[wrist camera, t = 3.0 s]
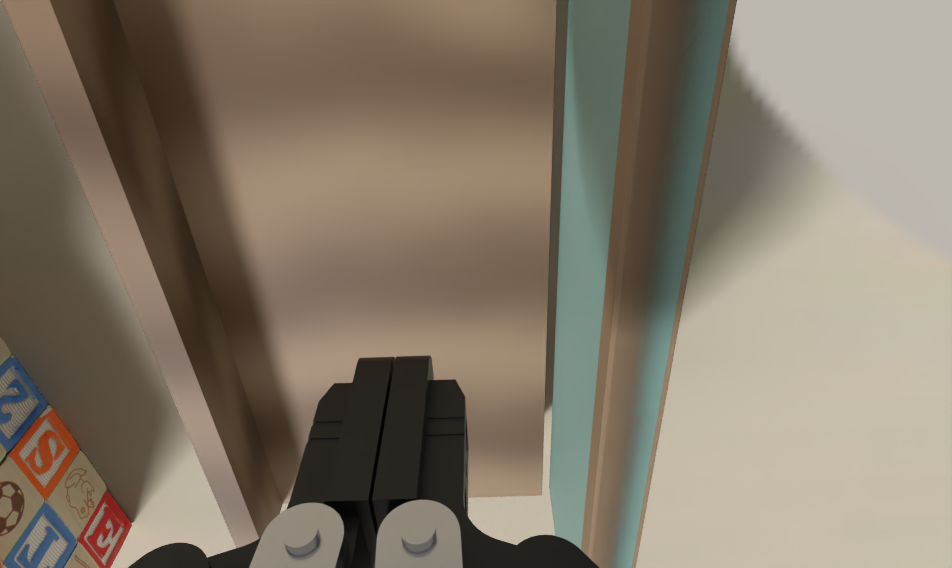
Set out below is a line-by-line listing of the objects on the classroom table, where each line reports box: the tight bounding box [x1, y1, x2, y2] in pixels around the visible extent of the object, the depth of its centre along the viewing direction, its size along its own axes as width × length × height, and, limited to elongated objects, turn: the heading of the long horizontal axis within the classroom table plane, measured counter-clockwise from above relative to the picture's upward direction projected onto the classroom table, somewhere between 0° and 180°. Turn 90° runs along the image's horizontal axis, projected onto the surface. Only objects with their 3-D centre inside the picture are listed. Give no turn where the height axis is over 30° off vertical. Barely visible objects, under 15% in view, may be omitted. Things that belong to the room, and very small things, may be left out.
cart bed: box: [2, 0, 557, 548], centre depth 21 cm, size 22×12×6 cm, turn 2°
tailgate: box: [549, 0, 737, 568], centre depth 17 cm, size 21×1×8 cm, turn 2°
